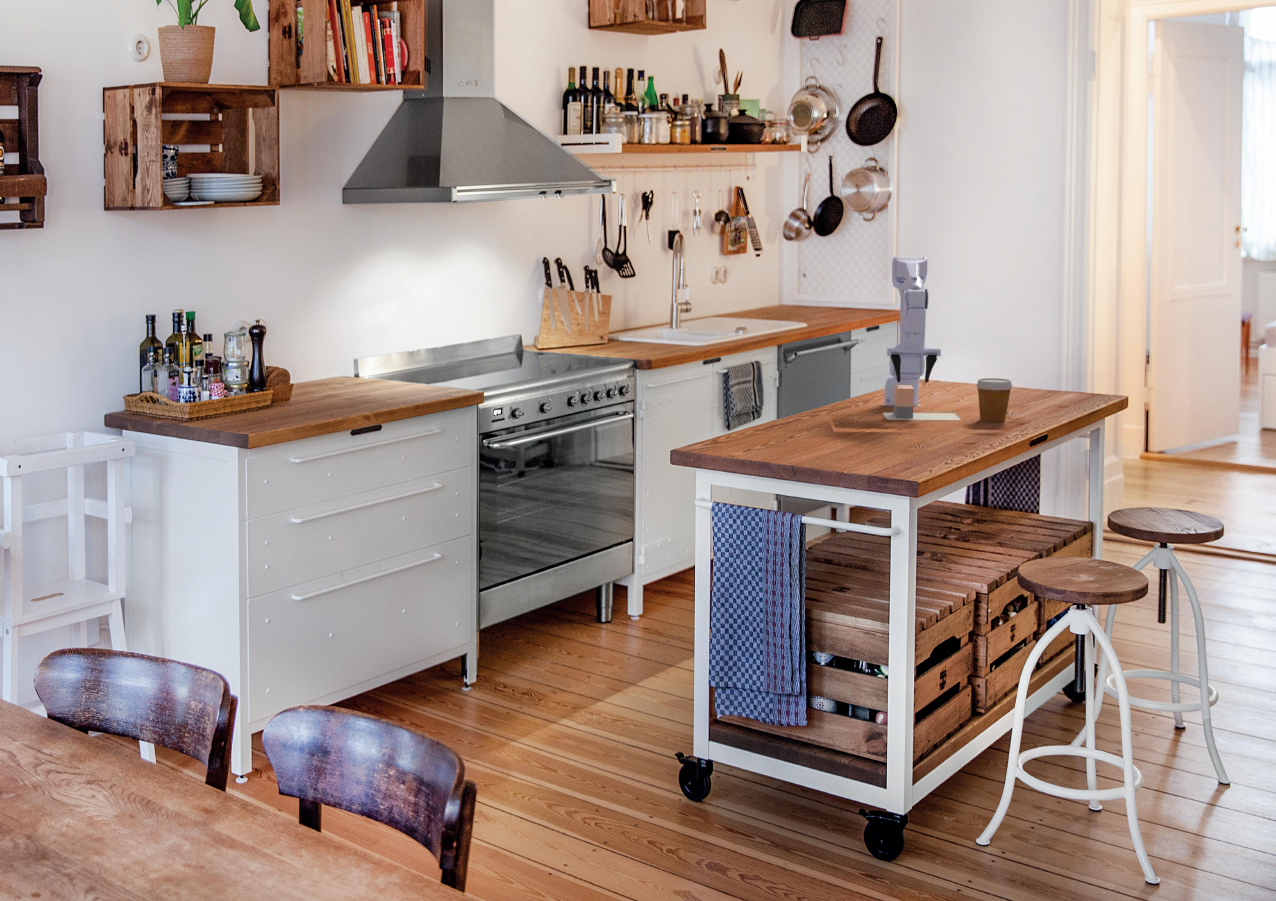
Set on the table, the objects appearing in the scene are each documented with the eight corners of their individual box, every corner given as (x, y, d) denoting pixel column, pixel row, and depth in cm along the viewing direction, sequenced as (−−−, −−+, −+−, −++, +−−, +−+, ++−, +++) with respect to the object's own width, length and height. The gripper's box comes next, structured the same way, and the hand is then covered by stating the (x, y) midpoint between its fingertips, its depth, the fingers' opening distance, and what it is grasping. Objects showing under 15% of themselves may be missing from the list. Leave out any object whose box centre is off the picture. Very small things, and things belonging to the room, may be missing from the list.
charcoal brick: (896, 418, 345) (896, 406, 344) (893, 414, 352) (893, 402, 351) (912, 418, 345) (913, 406, 344) (909, 414, 352) (910, 402, 351)
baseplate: (886, 422, 343) (887, 419, 343) (882, 416, 355) (882, 412, 355) (961, 423, 341) (961, 420, 341) (953, 416, 353) (954, 413, 353)
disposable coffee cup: (1004, 428, 335) (1007, 383, 332) (969, 425, 340) (971, 381, 337) (1014, 423, 343) (1017, 379, 340) (980, 420, 348) (982, 377, 345)
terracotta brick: (896, 406, 344) (897, 388, 344) (893, 402, 351) (894, 385, 350) (913, 406, 344) (914, 388, 343) (910, 402, 351) (910, 385, 350)
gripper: (889, 334, 343) (887, 383, 346) (943, 334, 342) (941, 384, 344) (886, 331, 350) (885, 380, 353) (939, 332, 349) (937, 380, 351)
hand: (912, 381), depth 349 cm, fingers open, 7 cm apart
